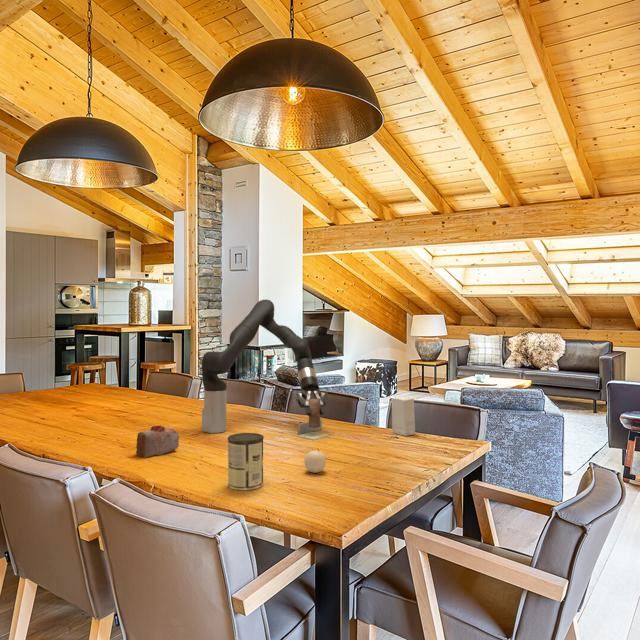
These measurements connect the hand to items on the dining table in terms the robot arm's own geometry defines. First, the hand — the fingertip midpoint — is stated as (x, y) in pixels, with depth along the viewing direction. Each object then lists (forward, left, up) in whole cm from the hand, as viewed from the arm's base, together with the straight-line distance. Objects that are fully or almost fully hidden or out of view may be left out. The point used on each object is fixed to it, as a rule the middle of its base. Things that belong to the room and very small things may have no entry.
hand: (315, 414), depth 218 cm
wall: (+5, +7, -9) cm, 13 cm away
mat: (0, +1, -9) cm, 9 cm away
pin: (+1, +2, -5) cm, 5 cm away
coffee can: (-60, -24, -9) cm, 65 cm away
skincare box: (+28, -24, -9) cm, 38 cm away
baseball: (-37, -31, -9) cm, 49 cm away
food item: (-56, +26, -9) cm, 62 cm away
